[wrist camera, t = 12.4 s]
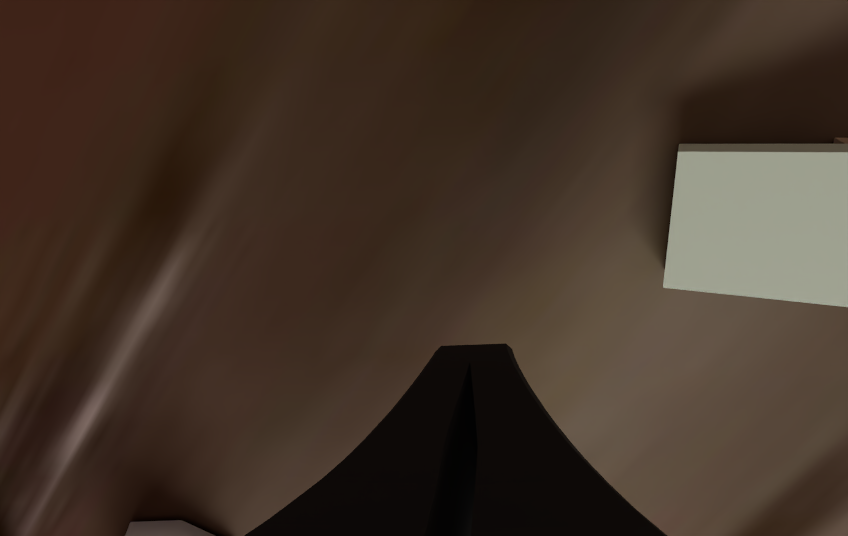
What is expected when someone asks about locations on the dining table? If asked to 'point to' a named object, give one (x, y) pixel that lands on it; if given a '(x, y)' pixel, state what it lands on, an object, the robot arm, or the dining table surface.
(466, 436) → the robot arm
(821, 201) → the sage domino
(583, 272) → the dining table surface
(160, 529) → the flask
